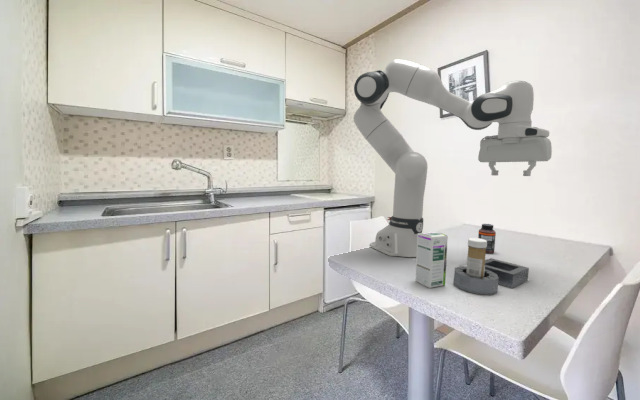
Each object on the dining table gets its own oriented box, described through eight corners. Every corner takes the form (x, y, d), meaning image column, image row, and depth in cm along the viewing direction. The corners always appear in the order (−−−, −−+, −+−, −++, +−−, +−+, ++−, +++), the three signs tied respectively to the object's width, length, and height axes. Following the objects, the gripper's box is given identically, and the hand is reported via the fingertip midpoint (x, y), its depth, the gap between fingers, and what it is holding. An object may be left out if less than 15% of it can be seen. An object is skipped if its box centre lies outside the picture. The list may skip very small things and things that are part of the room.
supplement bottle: (478, 248, 116) (480, 222, 115) (494, 251, 113) (496, 224, 112) (476, 252, 111) (478, 224, 110) (493, 254, 108) (496, 226, 107)
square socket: (473, 276, 84) (474, 263, 84) (490, 270, 90) (491, 258, 90) (512, 288, 76) (513, 274, 75) (527, 280, 82) (529, 267, 81)
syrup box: (430, 288, 75) (433, 236, 73) (414, 280, 80) (417, 232, 78) (445, 285, 77) (448, 235, 75) (429, 278, 82) (432, 230, 81)
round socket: (446, 283, 78) (447, 270, 78) (465, 276, 84) (466, 264, 84) (484, 298, 69) (486, 283, 69) (503, 289, 75) (505, 275, 75)
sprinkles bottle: (486, 287, 76) (490, 240, 75) (477, 290, 74) (481, 242, 72) (470, 281, 80) (474, 236, 79) (461, 284, 78) (464, 238, 76)
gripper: (476, 135, 97) (473, 175, 98) (548, 128, 80) (543, 176, 81) (485, 137, 100) (482, 175, 102) (556, 131, 83) (551, 176, 85)
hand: (510, 175), depth 91 cm, fingers open, 8 cm apart
